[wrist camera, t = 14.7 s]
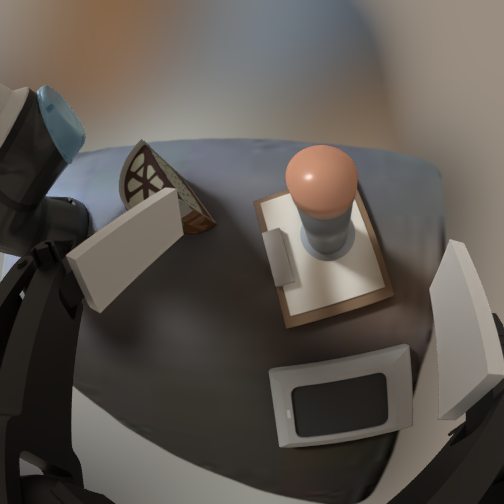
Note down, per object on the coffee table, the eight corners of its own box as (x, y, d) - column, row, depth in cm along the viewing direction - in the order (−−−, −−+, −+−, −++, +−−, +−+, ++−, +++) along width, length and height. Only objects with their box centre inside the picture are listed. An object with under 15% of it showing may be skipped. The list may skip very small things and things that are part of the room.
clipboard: (288, 328, 29) (284, 329, 27) (255, 205, 33) (250, 197, 31) (392, 296, 26) (397, 294, 24) (348, 175, 30) (349, 166, 28)
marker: (312, 260, 28) (297, 218, 16) (301, 220, 29) (277, 157, 17) (354, 247, 27) (369, 196, 15) (340, 208, 28) (341, 137, 16)
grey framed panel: (415, 429, 19) (276, 452, 23) (407, 418, 23) (282, 439, 26) (412, 347, 22) (265, 374, 25) (403, 343, 25) (272, 367, 29)
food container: (149, 200, 38) (105, 171, 29) (179, 172, 38) (140, 136, 28) (186, 263, 34) (137, 245, 25) (223, 232, 33) (182, 202, 24)
